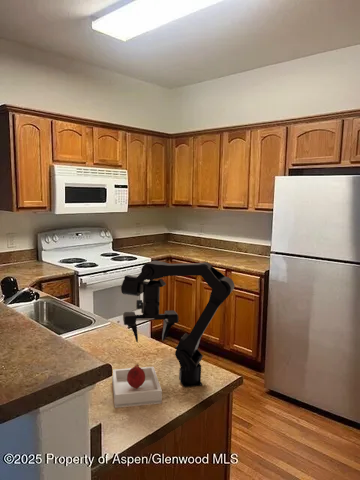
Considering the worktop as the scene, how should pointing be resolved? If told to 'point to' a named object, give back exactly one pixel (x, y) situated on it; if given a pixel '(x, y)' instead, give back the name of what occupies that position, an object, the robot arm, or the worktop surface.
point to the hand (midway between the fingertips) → (150, 341)
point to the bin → (139, 396)
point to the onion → (136, 377)
